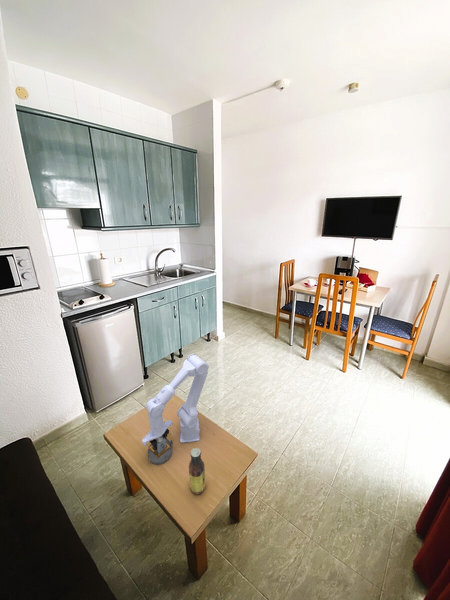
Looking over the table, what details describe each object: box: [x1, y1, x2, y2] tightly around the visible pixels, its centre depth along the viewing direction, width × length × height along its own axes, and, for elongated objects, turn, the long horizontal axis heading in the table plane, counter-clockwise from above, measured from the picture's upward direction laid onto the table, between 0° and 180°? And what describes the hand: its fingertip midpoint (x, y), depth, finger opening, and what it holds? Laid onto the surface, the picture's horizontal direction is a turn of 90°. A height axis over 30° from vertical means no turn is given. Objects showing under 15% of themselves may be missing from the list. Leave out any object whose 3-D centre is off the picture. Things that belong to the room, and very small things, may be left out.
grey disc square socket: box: [147, 438, 173, 466], centre depth 114 cm, size 12×11×4 cm
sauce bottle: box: [188, 447, 206, 495], centre depth 97 cm, size 7×6×20 cm
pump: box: [155, 436, 167, 454], centre depth 111 cm, size 4×5×7 cm
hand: (159, 445), depth 112 cm, fingers closed on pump, 4 cm apart
